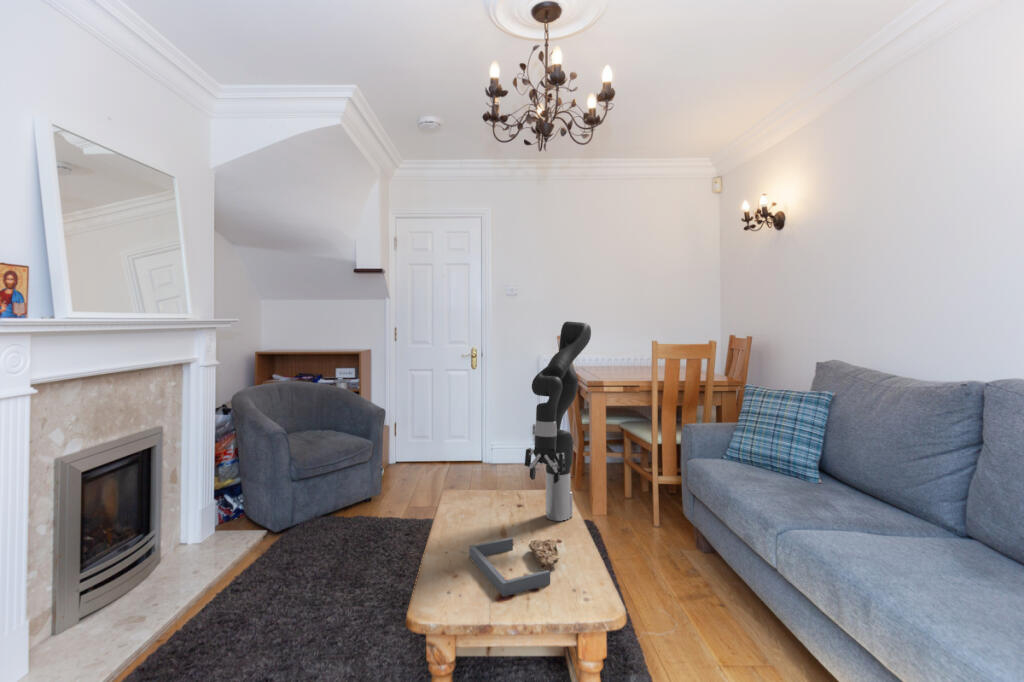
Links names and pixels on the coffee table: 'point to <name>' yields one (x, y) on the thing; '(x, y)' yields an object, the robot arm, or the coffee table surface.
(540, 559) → the rock
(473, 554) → the bracket
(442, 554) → the coffee table surface
